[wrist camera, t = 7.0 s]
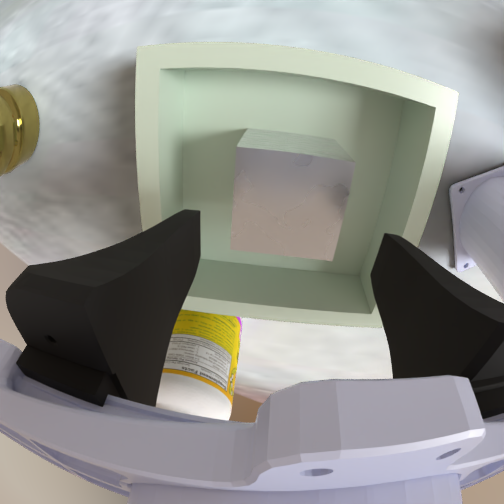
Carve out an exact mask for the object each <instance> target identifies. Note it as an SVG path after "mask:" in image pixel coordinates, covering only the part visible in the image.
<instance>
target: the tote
mask: <svg viewBox="0 0 504 504" xmlns="http://www.w3.org/2000/svg"><path fill="white" fill-rule="evenodd" d="M458 96H459V92H456V91H454V90H452V89H449V88H447V87H445V86H442V85H440V84H437V83H434V82H432V81H429V80H426V79H424V78H421V77H418V76H415V75H412V74H409V73H406V72H403V71H400V70H397V69H394V68H390V67H387V66H383V65H380V64H376V63H372V62H369V61H365V60H361V59H356V58H352V57H348V56H343V55H338V54H333V53H328V52H322V51H316V50H310V49H303V48H296V47H288V46H279V45H269V44H257V43H238V42H189V43H171V44H158V45H148V46H139V47H137V55H136V79H135V137H136V162H137V179H138V192H139V204H140V215H141V224H142V232H143V231H145V230H147V229H149V228H151V227H153V226H155V225H157V224H158V223H160V222H162V221H164V220H165V219H167V218H169V217H171V216H172V215H174V214H176V213H178V212H180V211H182V210H184V209H189V210H200V231H201V257H200V261H199V264H198V268H197V272H196V275H195V278H194V280H193V283H192V285H191V287H190V290H189V292H188V294H187V297H186V299H185V301H184V304H183V306H182V308H181V309H184V310H191V311H198V312H205V313H213V314H220V315H228V316H237V317H245V318H254V319H263V320H273V321H284V322H295V323H307V324H319V325H334V326H350V327H370V328H382V326H383V324H382V320H381V317H380V314H379V311H378V308H377V304H376V301H375V298H374V294H373V289H372V283H371V277H370V274H371V271H372V268H373V265H374V262H375V260H376V257H377V254H378V251H379V248H380V245H381V242H382V239H383V236H384V233H389V234H395V235H399V236H401V237H403V238H404V239H406V240H407V241H409V242H410V243H412V244H413V245H414V246H416V247H418V245H419V242H420V240H421V237H422V234H423V231H424V229H425V226H426V223H427V220H428V217H429V214H430V211H431V208H432V205H433V202H434V199H435V195H436V192H437V189H438V185H439V182H440V178H441V175H442V171H443V167H444V163H445V159H446V155H447V151H448V147H449V143H450V138H451V134H452V129H453V124H454V119H455V113H456V108H457V102H458ZM247 128H251V129H261V130H271V131H280V132H288V133H296V134H303V135H310V136H316V137H323V138H329V139H335V140H336V141H337V143H338V144H339V145H340V146H341V147H342V148H343V149H344V150H345V151H346V152H347V153H348V154H349V156H350V157H351V158H352V159H353V160H354V161H355V162H356V164H355V169H354V174H353V178H352V183H351V188H350V192H349V197H348V201H347V205H346V210H345V214H344V218H343V222H342V226H341V230H340V234H339V238H338V242H337V246H336V250H335V253H334V257H333V261H327V260H318V259H309V258H300V257H291V256H282V255H273V254H264V253H255V252H246V251H237V250H230V243H231V225H232V207H233V191H234V175H235V160H236V147H237V145H238V143H239V142H240V140H241V138H242V137H243V135H244V133H245V132H246V130H247Z"/></svg>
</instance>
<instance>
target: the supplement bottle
mask: <svg viewBox="0 0 504 504" xmlns="http://www.w3.org/2000/svg"><path fill="white" fill-rule="evenodd" d="M241 332H242V317H237V316H228V315H220V314H213V313H205V312H198V311H191V310H184V309H181V311H180V313H179V315H178V318H177V320H176V323H175V326H174V329H173V332H172V336H171V339H170V343H169V347H168V351H167V355H166V359H165V363H164V367H163V371H162V376H161V381H160V386H159V391H158V396H157V402H156V407H157V408H161V409H166V410H170V411H175V412H180V413H185V414H190V415H196V416H202V417H208V418H214V419H221V420H229V418H230V414H231V408H232V399H233V393H234V385H235V378H236V370H237V363H238V355H239V347H240V339H241Z"/></svg>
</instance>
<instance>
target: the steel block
mask: <svg viewBox="0 0 504 504" xmlns="http://www.w3.org/2000/svg"><path fill="white" fill-rule="evenodd" d="M355 164H356V162H355V161H354V160H353V159H352V158H351V157H350V156H349V154H348V153H347V152H346V151H345V150H344V149H343V148H342V147H341V146H340V145H339V144H338V143H337V141H336V140H335V139H329V138H323V137H316V136H310V135H303V134H296V133H288V132H280V131H271V130H261V129H251V128H247V130H246V132H245V133H244V135H243V137H242V138H241V140H240V142H239V143H238V145H237V147H236V160H235V175H234V191H233V207H232V225H231V243H230V250H237V251H246V252H255V253H264V254H273V255H282V256H291V257H300V258H309V259H318V260H327V261H333V257H334V253H335V250H336V246H337V242H338V238H339V234H340V230H341V226H342V222H343V218H344V214H345V210H346V205H347V201H348V197H349V192H350V188H351V183H352V178H353V174H354V169H355Z"/></svg>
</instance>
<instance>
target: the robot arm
mask: <svg viewBox="0 0 504 504" xmlns="http://www.w3.org/2000/svg"><path fill="white" fill-rule="evenodd" d="M461 187H462V190H461V191H459V189H460V188H461ZM449 196H450V203H451V212H452V222H453V235H454V252H455V269H456V270H457V271H458V272H462V271H464V270H466V269H469V268H471V267H473V266H475V265H477V266H478V267H479V268H480V270H481V271H482V272H483V274H484V275H485V276H486V278H487V279H488V280H489V282H490V283H491V284H492V286H493V287H494V289H495V290H496V292H497V293H498V294H499V296H500V297H501V299H502V300H503V302H504V166H502V167H499V168H497V169H494V170H491V171H488V172H486V173H483V174H480V175H477V176H475V177H472V178H469V179H466V180H464V181H461V182H458V183H455V184H453V185H451V187H450V189H449ZM200 257H201V231H200V210H189V209H184V210H182V211H180V212H178V213H176V214H174V215H172V216H171V217H169V218H167V219H165V220H164V221H162V222H160V223H158V224H157V225H155V226H153V227H151V228H149V229H147V230H145V231H143V232H141V233H140V234H138V235H136V236H134V237H132V238H130V239H127V240H125V241H123V242H120V243H118V244H116V245H113V246H110V247H108V248H105V249H102V250H99V251H96V252H93V253H90V254H86V255H83V256H79V257H75V258H71V259H66V260H62V261H57V262H50V263H43V264H37V265H29V266H28V267H27V268H26V269H25V270H24V271H23V272H22V274H20V275H19V277H18V278H17V279H16V280H15V281H14V282H13V283H12V284H11V286H10V287H9V288H8V290H7V291H6V304H7V308H8V311H9V313H10V315H11V317H12V319H13V321H14V323H15V325H16V327H17V328H18V330H19V332H20V333H21V335H22V337H23V339H24V341H25V342H26V344H27V346H26V348H25V349H24V351H23V352H22V351H21V350H20V349H18V348H17V347H16V346H14V345H12V344H10V343H8V342H6V341H4V340H2V339H0V432H1V433H3V434H5V435H6V436H7V437H9V438H10V439H12V440H13V441H15V442H17V443H18V444H20V445H21V446H23V447H24V448H26V449H28V450H29V451H31V452H33V453H34V454H36V455H38V456H40V457H41V458H43V459H45V460H47V461H48V462H50V463H52V464H54V465H56V466H58V467H60V468H61V469H63V470H65V471H67V472H69V473H71V474H73V475H76V476H78V477H80V478H82V479H84V480H86V481H88V482H91V483H93V484H95V485H98V486H100V487H102V488H105V489H107V490H110V491H113V492H115V493H118V494H121V495H123V496H126V497H128V501H127V504H463V503H462V495H461V490H463V489H466V488H468V487H470V486H473V485H475V484H477V483H479V482H482V481H484V480H486V479H488V478H490V477H492V476H494V475H496V474H498V473H500V472H502V471H504V304H503V303H501V302H499V301H497V300H495V299H493V298H491V297H489V296H487V295H485V294H484V293H482V292H480V291H478V290H476V289H475V288H473V287H471V286H470V285H468V284H467V283H465V282H464V281H462V280H460V279H459V278H457V277H456V276H455V275H453V274H452V273H450V272H449V271H448V270H446V269H445V268H443V267H442V266H441V265H439V264H438V263H437V262H435V261H434V260H433V259H432V258H430V257H429V256H428V255H426V254H425V253H424V252H422V251H421V250H420V249H418V248H417V247H416V246H414V245H413V244H412V243H410V242H409V241H407V240H406V239H404V238H403V237H401V236H399V235H395V234H389V233H384V236H383V239H382V242H381V245H380V248H379V251H378V254H377V257H376V260H375V262H374V265H373V268H372V271H371V274H370V277H371V283H372V289H373V294H374V298H375V301H376V304H377V308H378V311H379V314H380V317H381V320H382V324H383V327H384V330H385V333H386V337H387V341H388V345H389V349H390V356H391V363H392V372H393V379H329V380H319V381H309V382H300V383H298V384H295V385H293V386H290V387H287V388H284V389H282V390H279V391H276V392H275V393H273V394H271V395H270V396H269V397H268V398H267V400H266V401H265V402H264V403H263V404H262V405H261V406H260V407H259V409H258V413H257V417H256V422H255V423H245V422H236V421H228V420H221V419H214V418H208V417H202V416H196V415H190V414H185V413H180V412H175V411H170V410H166V409H161V408H157V407H156V402H157V396H158V391H159V386H160V381H161V376H162V371H163V367H164V363H165V359H166V355H167V351H168V347H169V343H170V339H171V336H172V332H173V329H174V326H175V323H176V320H177V318H178V315H179V313H180V311H181V308H182V306H183V304H184V301H185V299H186V297H187V294H188V292H189V290H190V287H191V285H192V283H193V280H194V278H195V275H196V272H197V268H198V264H199V261H200Z"/></svg>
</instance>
